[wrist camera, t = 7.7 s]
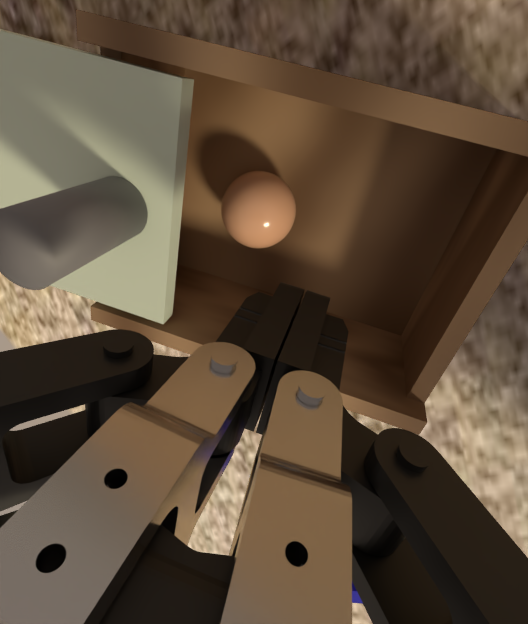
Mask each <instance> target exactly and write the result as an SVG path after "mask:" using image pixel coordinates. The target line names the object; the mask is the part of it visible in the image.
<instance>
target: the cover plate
mask: <svg viewBox="0 0 528 624" xmlns="http://www.w3.org/2000/svg"><path fill="white" fill-rule="evenodd" d="M193 86H194V79H191V78H187V77H183V76H179V75H175V74H172V73H168V72H164V71H160V70H156V69H152V68H149V67H145V66H141V65H137V64H133V63H129V62H126V61H122V60H118V59H114V58H110V57H107V56H103V55H99V54H95V53H91V52H87V51H84V50H80V49H76V48H72V47H68V46H64V45H61V44H57V43H53V42H49V41H45V40H41V39H38V38H34V37H30V36H26V35H22V34H19V33H15V32H11V31H7V30H3V29H0V272H1V273H2V274H3V275H4V276H5V277H6V278H8V279H9V280H10V281H12V282H13V283H15V284H17V285H19V286H21V287H23V288H26V289H31V290H40V289H44V288H46V287H48V286H49V285H50V286H53V287H56V288H59V289H62V290H65V291H67V292H70V293H73V294H76V295H79V296H82V297H85V298H88V299H91V300H94V301H97V302H99V303H102V304H105V305H108V306H111V307H114V308H117V309H120V310H123V311H126V312H129V313H131V314H134V315H137V316H140V317H143V318H146V319H149V320H152V321H155V322H158V323H161V324H164V323H165V322H166V321H167V320H168V319H169V318H170V317H171V316H172V314H173V303H174V292H175V281H176V270H177V259H178V249H179V238H180V227H181V216H182V205H183V194H184V183H185V173H186V162H187V151H188V140H189V129H190V118H191V108H192V97H193Z"/></svg>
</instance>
